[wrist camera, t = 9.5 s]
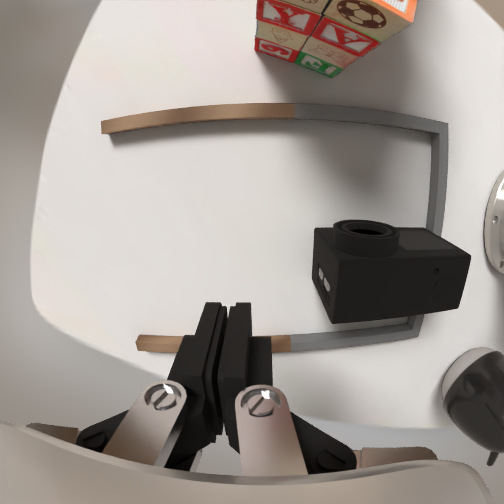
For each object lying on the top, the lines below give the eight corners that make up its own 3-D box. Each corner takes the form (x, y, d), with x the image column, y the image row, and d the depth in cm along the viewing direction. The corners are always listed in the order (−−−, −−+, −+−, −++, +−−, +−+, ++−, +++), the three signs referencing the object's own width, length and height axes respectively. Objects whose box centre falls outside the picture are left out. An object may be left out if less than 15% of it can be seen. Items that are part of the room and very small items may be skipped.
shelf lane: (292, 105, 19) (294, 103, 18) (289, 343, 26) (290, 351, 25) (108, 122, 19) (101, 121, 18) (141, 343, 26) (138, 350, 25)
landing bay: (440, 123, 19) (448, 123, 18) (412, 330, 26) (417, 336, 25) (292, 105, 19) (294, 103, 18) (289, 343, 26) (290, 351, 25)
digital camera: (427, 214, 22) (477, 238, 15) (418, 272, 24) (459, 309, 17) (314, 212, 22) (341, 240, 15) (311, 277, 24) (332, 325, 17)
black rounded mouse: (420, 402, 30) (463, 487, 16) (448, 341, 27) (517, 431, 12) (470, 387, 30) (516, 456, 16) (499, 330, 27) (562, 398, 13)
